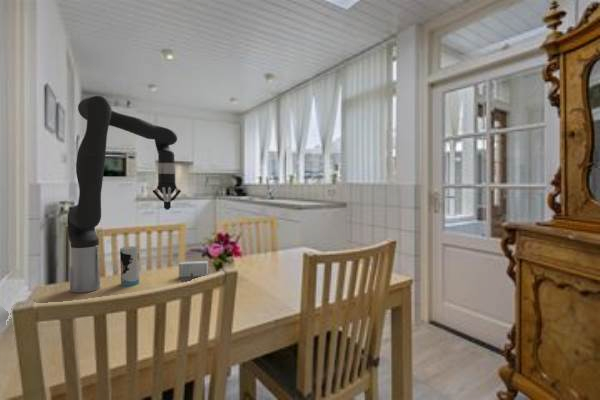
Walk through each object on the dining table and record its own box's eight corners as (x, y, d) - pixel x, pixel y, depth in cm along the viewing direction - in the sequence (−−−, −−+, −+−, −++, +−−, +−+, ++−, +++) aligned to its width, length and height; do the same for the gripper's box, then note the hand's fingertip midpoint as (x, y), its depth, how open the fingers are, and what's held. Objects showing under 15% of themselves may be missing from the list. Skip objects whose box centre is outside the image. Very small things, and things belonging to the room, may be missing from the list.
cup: (134, 280, 142) (134, 245, 141) (142, 283, 138) (141, 247, 137) (118, 283, 137) (117, 248, 136) (125, 287, 132) (124, 250, 132)
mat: (181, 281, 140) (181, 280, 140) (182, 271, 156) (182, 270, 156) (210, 279, 144) (210, 278, 144) (208, 269, 159) (208, 268, 159)
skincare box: (178, 264, 145) (206, 262, 147) (180, 261, 149) (208, 260, 151) (178, 277, 145) (207, 276, 147) (181, 274, 150) (208, 273, 151)
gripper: (150, 172, 150) (151, 210, 151) (181, 173, 154) (181, 210, 155) (152, 172, 157) (153, 209, 159) (181, 173, 161) (182, 208, 162)
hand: (167, 209), depth 157 cm, fingers closed
